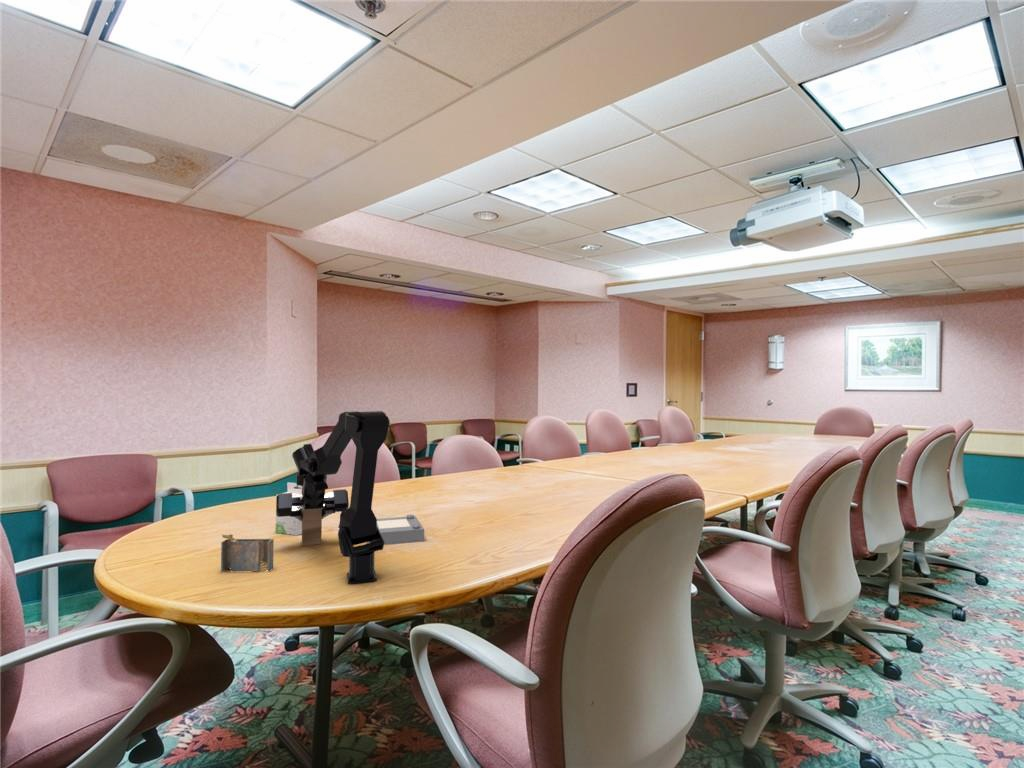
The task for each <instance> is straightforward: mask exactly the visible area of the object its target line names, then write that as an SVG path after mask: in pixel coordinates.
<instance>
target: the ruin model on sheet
mask: <svg viewBox="0 0 1024 768" xmlns="http://www.w3.org/2000/svg"><path fill="white" fill-rule="evenodd" d="M221 536H222V538H223V539H225V540H223V541H221V544H220V547H221V548H220V550H221V552H220V554H221V555H220V557H221V558H220V572H221V571H223V572H225V571H226V570H228V569H227V568H231V569H230V571H258V572H257V573H260V572H259V571H266V570H268V571H269V572H271V571H270V570H271V569H272V570H273V569H274V548H275V547H274V543H275V542H274V538H234V537H233V536H234V535H233V534H231V533H229V534H221ZM225 569H226V570H225ZM224 570H225V571H224Z"/></svg>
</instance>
